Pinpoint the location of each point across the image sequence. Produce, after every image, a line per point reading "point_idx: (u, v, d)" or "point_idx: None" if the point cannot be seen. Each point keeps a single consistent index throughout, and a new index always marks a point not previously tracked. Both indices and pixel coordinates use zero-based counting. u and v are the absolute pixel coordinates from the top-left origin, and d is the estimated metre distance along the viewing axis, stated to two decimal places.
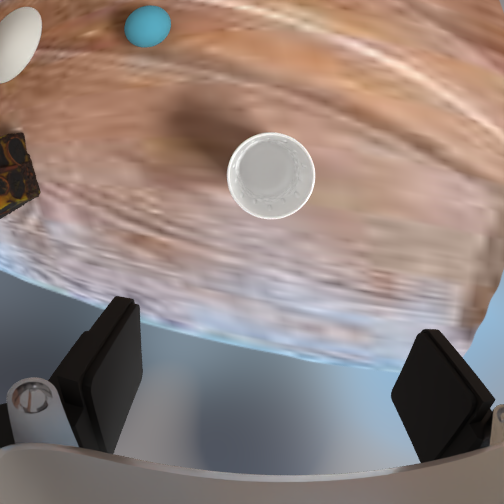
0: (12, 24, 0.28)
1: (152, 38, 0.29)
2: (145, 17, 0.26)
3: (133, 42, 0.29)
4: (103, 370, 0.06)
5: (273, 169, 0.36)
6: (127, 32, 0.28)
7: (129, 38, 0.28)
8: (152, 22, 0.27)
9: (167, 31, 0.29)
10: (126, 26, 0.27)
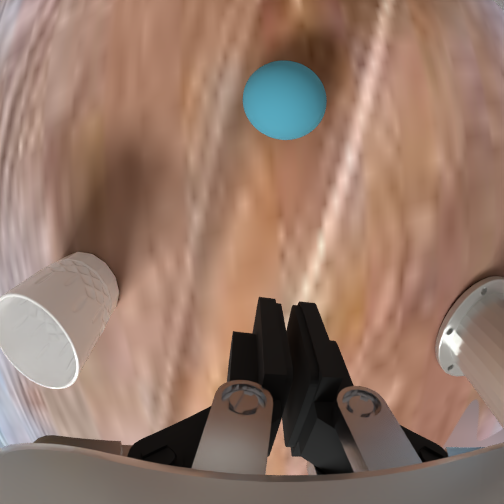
0: None
1: (251, 114, 0.19)
2: (292, 103, 0.17)
3: (249, 79, 0.18)
4: (288, 363, 0.08)
5: None
6: (268, 68, 0.17)
7: (257, 72, 0.18)
8: (280, 116, 0.18)
9: (269, 136, 0.20)
10: (281, 66, 0.17)
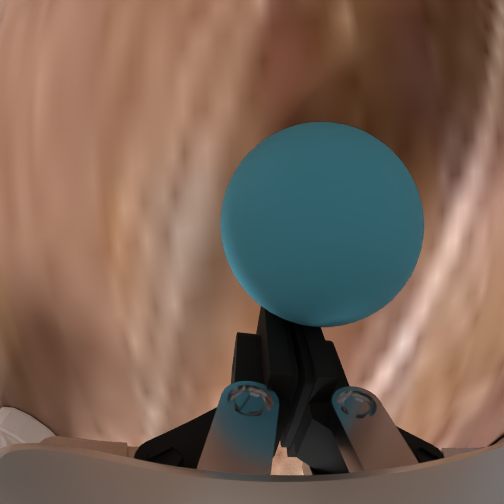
0: None
1: (242, 254, 0.07)
2: (370, 211, 0.06)
3: (240, 165, 0.08)
4: (293, 364, 0.08)
5: None
6: (289, 130, 0.07)
7: (260, 144, 0.08)
8: (333, 254, 0.06)
9: (288, 319, 0.08)
10: (322, 124, 0.07)
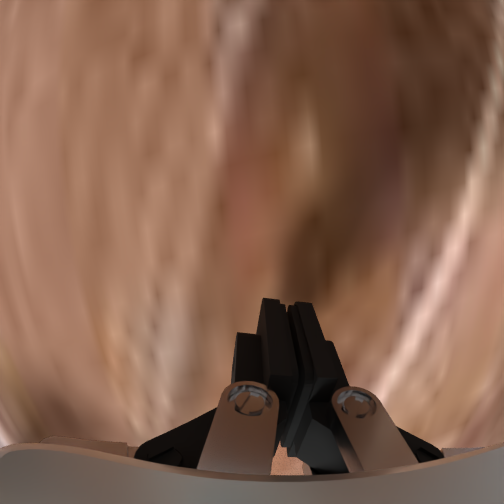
0: None
1: None
2: None
3: None
4: (293, 364, 0.08)
5: None
6: None
7: None
8: None
9: None
10: None
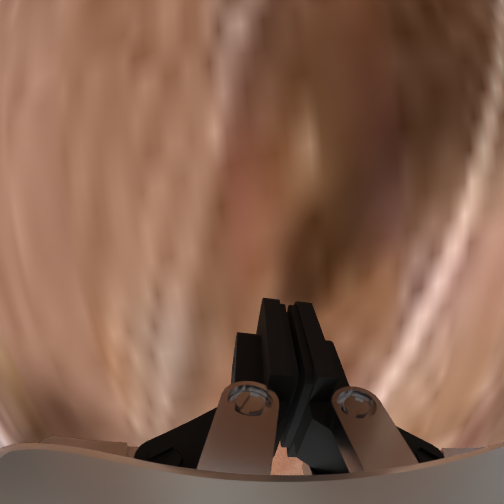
0: None
1: None
2: None
3: None
4: (293, 364, 0.08)
5: None
6: None
7: None
8: None
9: None
10: None
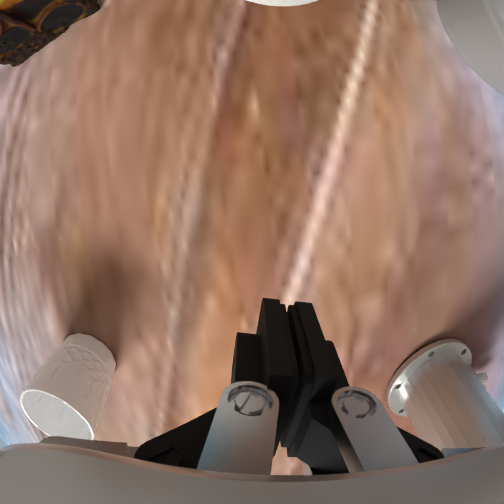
0: None
1: None
2: None
3: None
4: (294, 364, 0.08)
5: None
6: None
7: None
8: None
9: None
10: None
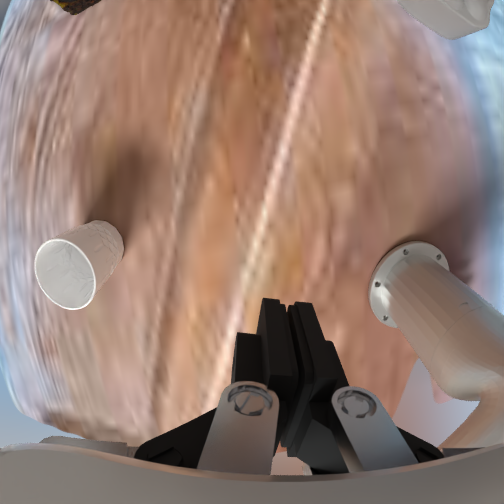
0: None
1: None
2: None
3: None
4: (293, 363, 0.08)
5: None
6: None
7: None
8: None
9: None
10: None
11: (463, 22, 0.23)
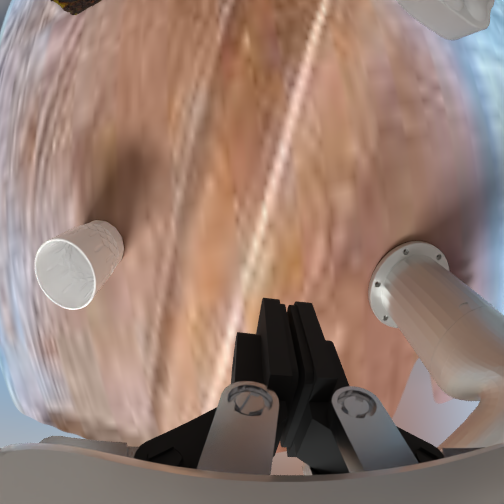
0: None
1: None
2: None
3: None
4: (293, 364, 0.08)
5: None
6: None
7: None
8: None
9: None
10: None
11: (463, 23, 0.23)
